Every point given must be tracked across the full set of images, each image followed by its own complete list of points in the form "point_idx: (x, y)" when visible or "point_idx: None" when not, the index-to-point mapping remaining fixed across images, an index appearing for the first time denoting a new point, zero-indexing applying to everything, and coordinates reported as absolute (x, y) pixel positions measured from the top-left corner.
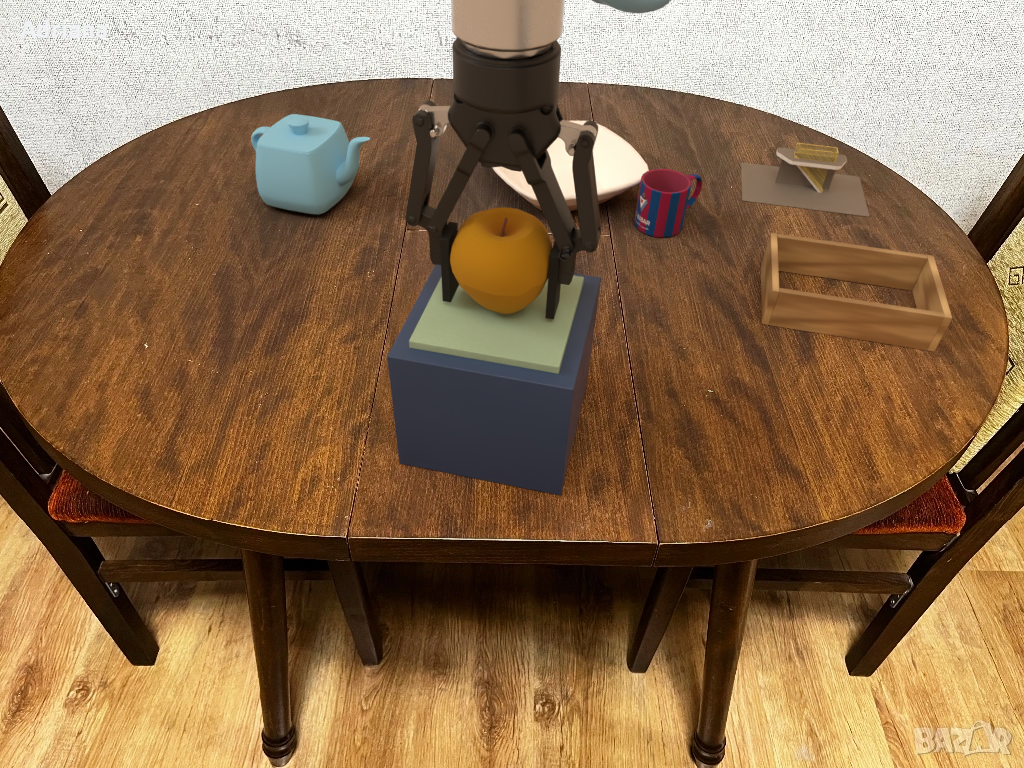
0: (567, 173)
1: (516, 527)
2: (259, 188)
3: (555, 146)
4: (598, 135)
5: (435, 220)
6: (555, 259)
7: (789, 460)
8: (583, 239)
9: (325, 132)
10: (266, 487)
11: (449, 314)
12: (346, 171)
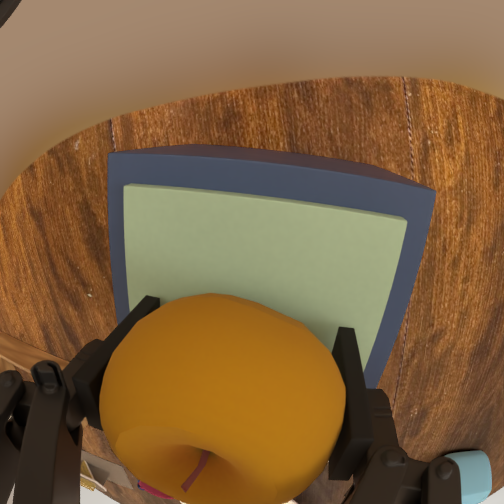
0: None
1: (234, 97)
2: (488, 459)
3: None
4: None
5: (388, 482)
6: (81, 374)
7: (36, 225)
8: (9, 394)
9: None
10: (485, 131)
11: (339, 303)
12: None
